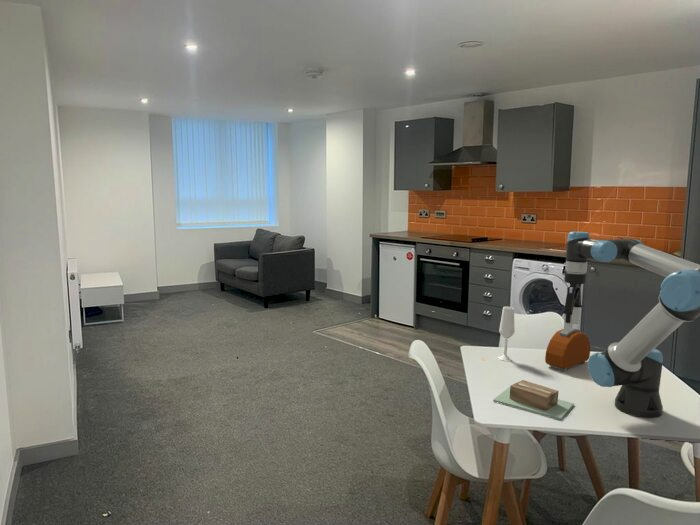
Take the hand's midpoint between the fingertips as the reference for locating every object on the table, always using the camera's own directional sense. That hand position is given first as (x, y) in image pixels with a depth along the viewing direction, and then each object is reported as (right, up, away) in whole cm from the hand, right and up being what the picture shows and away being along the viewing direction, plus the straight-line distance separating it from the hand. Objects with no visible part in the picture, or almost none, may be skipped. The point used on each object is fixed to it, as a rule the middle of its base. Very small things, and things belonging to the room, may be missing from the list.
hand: (571, 327), depth 203 cm
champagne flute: (-14, -19, +40) cm, 46 cm away
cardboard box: (-18, -26, -10) cm, 33 cm away
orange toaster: (+12, -21, +34) cm, 42 cm away
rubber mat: (-18, -27, -10) cm, 33 cm away
